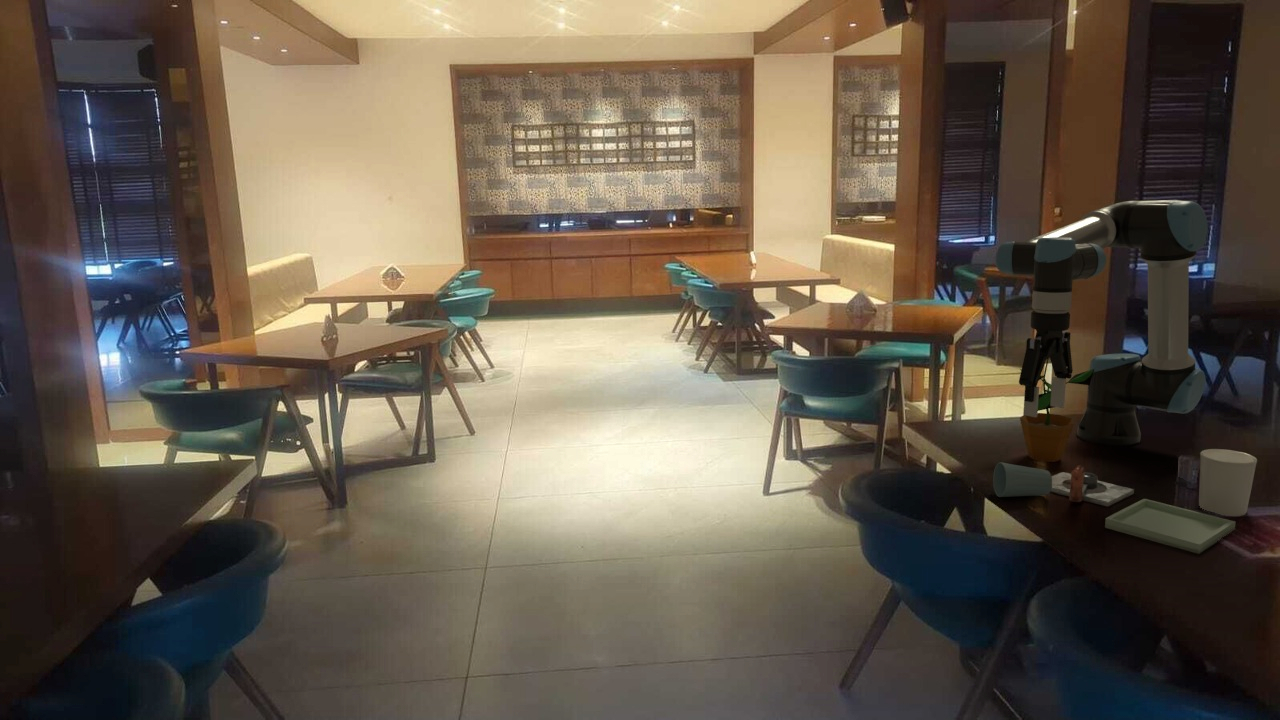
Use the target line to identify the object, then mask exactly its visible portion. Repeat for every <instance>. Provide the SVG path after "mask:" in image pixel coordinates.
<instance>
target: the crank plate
mask: <svg viewBox="0 0 1280 720" xmlns="http://www.w3.org/2000/svg"><path fill="white" fill-rule="evenodd" d="M1051 477H1052V488H1051V491H1050V493H1054V494H1058V495H1061V496H1066V497H1069V496H1070V483H1071V473H1069V472H1066V471H1065V472H1064V471H1062V472H1059V473H1056V474H1054V475H1051ZM1134 491H1135V488H1130V487H1126V486H1121V485H1117V484H1113V483H1108V482H1106V481H1101V480H1099V479H1098V480H1097V488H1095V489H1088V490H1087V492H1086V494H1085V495H1084V497H1083V499H1082V501H1085V502H1088V503H1092V504H1096V505H1100V506H1103V507H1110V506H1112V505H1114V504H1116V503H1118V502H1121V501H1122V500H1124V499H1126V498H1129V497H1130V496H1132V495H1134V493H1135V492H1134Z"/></svg>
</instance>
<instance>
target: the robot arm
mask: <svg viewBox="0 0 1280 720" xmlns="http://www.w3.org/2000/svg"><path fill="white" fill-rule="evenodd" d="M1207 219H1208V218H1207V216H1206V211H1204V208H1203V207H1202V206H1201V205H1200V204H1199V203H1197V202H1195V201H1192V200H1180V199H1167V200H1166V199H1164V200H1161V199H1160V200H1127V201H1120V202H1117V203H1114V204H1110V205H1106V206H1104V207H1100V208H1097V209H1095V210H1092V211H1090V212H1089V211H1088V212H1087V213H1085V214H1084V215H1083V216H1082V217H1081V218H1080V219H1079V220H1077V221H1074V222H1072V223H1070V224H1067V225H1065V226H1062V227H1059V228H1057V229H1053V230H1052V231H1048V232H1047V233H1044V234H1041V235H1038V236H1036V237H1033V238H1030V239H1027V240H1023V241H1015V240H1013V241H1006V242H1002V243H1001V244H1000V245H999V246H998V248H997V251H996V254H995V265H996V268H997V270H998V271H999V272H1000V273H1002V274H1005V275H1012V276H1025V277H1026V276H1029V277H1033V284H1032V285H1033V288H1032V293H1031V298H1032V301H1031V302H1032V303H1031V308H1032V312H1031V314H1030V315H1031V316H1030V328H1031V329H1033V330H1035V331H1036V333H1035V336H1034V338H1030V337H1029V338H1028V337H1027V339H1026V347H1025V353H1024V357H1023V362H1022V365H1021V369H1022V370H1020V374H1019V377H1018V378H1019V380H1018V384H1019V385H1020V386H1023V387H1024V386H1025V387H1024V399H1023V412H1022V413H1023V415H1026V416H1031V417H1037V413H1039V411H1038V398H1039V394H1040V387H1039V386H1038V384H1039V381H1040V380H1039V378H1040V375H1042V372H1043V369H1044V368H1045V366H1046V362H1047V359H1050V364H1051V366H1052V371H1053V374H1054V376H1052V380H1051V385H1052V389H1050V391H1051V403H1050V406H1053V407H1054V408H1058V409H1064V408H1065V402H1066V387H1067V386H1066V382H1067V379H1069V380H1070V379H1071V378H1072V377H1073V362H1072V353H1071V352H1072V350H1071V332H1069V331H1067V330H1069V328H1070V321H1071V313H1070V312H1069V311H1070V310H1071V309H1072V300H1073V299H1072V297H1073V281H1075V280H1081V279H1082V280H1087V279H1091V278H1092V277H1095V276H1098V275H1100V274H1101V273H1102V272H1103V271H1104V269H1105V267H1106V264H1107V254H1106V252H1105V250H1104V249H1105V248H1126V249H1129V248H1130V249H1139V250H1140V252H1139V253H1140V259H1141V261H1143V262H1145V263H1146V264H1147V328H1148V329H1147V338H1148V339H1147V340H1148V341H1147V345H1148V349H1147V350H1148V353H1147V354H1146V355H1145V356H1143V357H1141V356H1140V355H1139V354H1136V353H1109V354H1100V355H1096V356H1094V357H1093V358H1092V359H1091V360H1090V363H1089V369H1088V371H1089V370H1092V369H1094V372H1093V375H1092V379H1091V382H1090V385H1087V394H1086V396H1087V397H1086V408H1085V410H1084V413H1083V415H1082V417H1081V420H1080V421H1079V423H1078V426H1077V432H1076V435H1077V437H1078V438H1080V439H1082V440H1083V441H1087V442H1089V443H1090V442H1091V443H1093V444H1100V445H1108V446H1131V445H1137V444H1139V443H1140V442H1141V435H1142V433H1141V430H1140V426H1139V422H1138V418H1137V415H1136V406H1137V407H1140V408H1147V409H1150V410H1151V409H1152V410H1156V411H1157V410H1158V411H1162V412H1167V413H1176V414H1188V413H1189V412H1190V413H1191V412H1192V410H1194V409H1195V407H1197V405H1198V404H1199V402H1200V400H1201V398H1202V396H1203V393H1204V390H1205V388H1206V387H1205V386H1206V374H1205V372H1204V370H1201V369H1200V368H1196V359H1195V357H1193V356H1192V355H1191V354H1189V306H1190V305H1189V301H1190V300H1189V299H1190V298H1189V293H1190V292H1189V286H1190V283H1189V280H1190V279H1189V278H1190V277H1189V275H1190V273H1189V272H1190V262H1191V261H1192V260H1193V259H1194V258H1195V257H1196V256H1197V251H1200V250H1201V249H1202V248H1204V246H1205V244H1206V242H1207V236H1208V233H1209V232H1208V231H1209V229H1208V220H1207ZM1023 415H1022V416H1023Z"/></svg>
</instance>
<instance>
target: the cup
mask: <svg viewBox="0 0 1280 720" xmlns="http://www.w3.org/2000/svg"><path fill="white" fill-rule="evenodd" d="M992 479H993V480H992V482H993V483H992V484H993V491H994V493H995V495H996V496H997V497H999V498H1006V497H1007V498H1008V497H1029V496H1030V497H1033V496H1035V497H1038V496H1048V495H1049V494H1050V493H1051V492H1050V491H1051V488H1052V474H1051V472H1050V471H1049V470H1047V469H1042V468H1037V467H1030V466H1023V465H1017V464H1012V463H1007V462H1006V463H1005V462H1001V461H1000V462H997V464H996V465H995V467H994V470H993V477H992Z"/></svg>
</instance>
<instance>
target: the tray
mask: <svg viewBox="0 0 1280 720" xmlns="http://www.w3.org/2000/svg"><path fill="white" fill-rule="evenodd" d="M1104 524H1105V525H1104V528H1105V529H1108V530H1111V531H1115V532H1119V533H1123V534H1127V535H1130V536H1133V537H1137V538H1141V539H1144V540H1148V541H1152V542H1154V543H1159V544H1162V545H1166V546H1170V547H1172V548H1177V549H1181V550H1184V551H1188V552H1190V553H1194V554H1198V555H1200V554H1201V553H1203V552H1204V551H1205V550H1208V549H1209V548H1210V547H1212V546H1214V545H1215V544H1216V543H1218V542H1219V541H1218V539H1220V538H1222V537H1224V536H1226V535H1227V534H1229V533H1230V532H1232V531H1233V530H1236V521H1235V520H1230V519H1227V518H1223V517H1218V516H1215V515H1211V514H1206V513H1202V512H1198V511H1195V510H1190V509H1187V508H1183V507H1179V506H1175V505H1170V504H1168V503H1167V504H1166V503H1163V502H1160V501H1156V500H1152V499H1151V500H1150V499H1148V498H1143V499H1141V500H1139V501H1137V502H1135V503H1132V504H1131V505H1129V506H1126V507H1124V508H1122V509H1121V510H1119V511H1117V512H1115V513H1113V514H1111V515H1109V516H1108V517H1106V518H1105V522H1104ZM1233 532H1234V531H1233ZM1233 532H1232V533H1233ZM1230 534H1231V533H1230ZM1230 534H1229V535H1230ZM1227 536H1228V535H1227ZM1227 536H1226V537H1227ZM1224 538H1225V537H1224ZM1222 539H1223V538H1222ZM1217 541H1218V542H1217Z"/></svg>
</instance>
